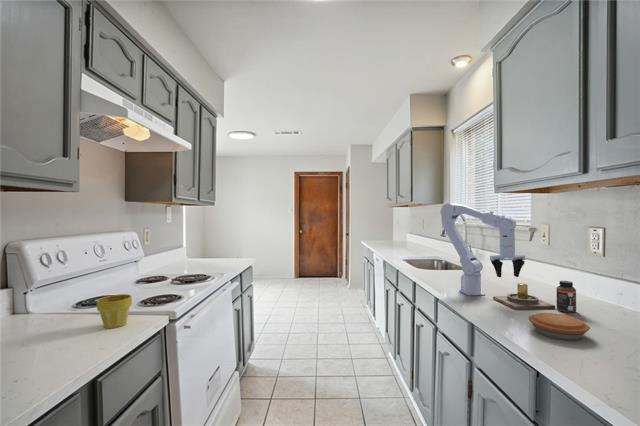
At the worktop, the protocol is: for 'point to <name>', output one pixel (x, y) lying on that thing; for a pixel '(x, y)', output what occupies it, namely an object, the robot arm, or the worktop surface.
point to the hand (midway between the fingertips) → (507, 276)
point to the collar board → (522, 306)
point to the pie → (558, 326)
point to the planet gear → (522, 292)
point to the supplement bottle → (566, 297)
